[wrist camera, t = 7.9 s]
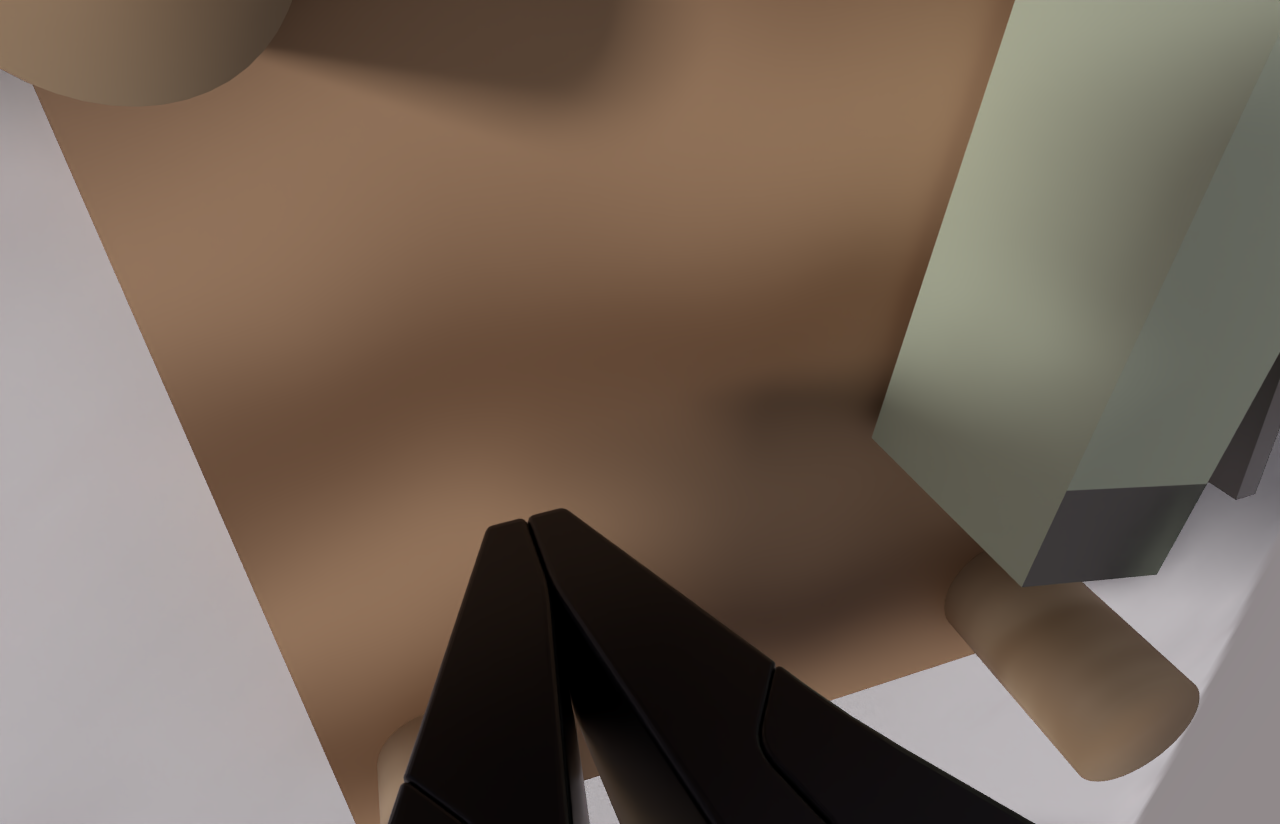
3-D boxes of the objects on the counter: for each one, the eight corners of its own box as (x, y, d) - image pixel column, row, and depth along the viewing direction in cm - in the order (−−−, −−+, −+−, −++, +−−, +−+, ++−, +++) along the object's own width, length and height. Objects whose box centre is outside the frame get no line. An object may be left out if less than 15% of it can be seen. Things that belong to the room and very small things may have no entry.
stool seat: (1012, 569, 22) (1208, 762, 17) (364, 767, 19) (376, 1079, 14) (1196, -362, 12) (1764, -533, 8) (-68, -305, 9) (-542, -542, 4)
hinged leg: (1118, -395, 10) (1511, -540, 7) (1309, -317, 11) (1728, -409, 8) (854, 438, 15) (1001, 589, 12) (1001, 435, 16) (1174, 572, 13)
